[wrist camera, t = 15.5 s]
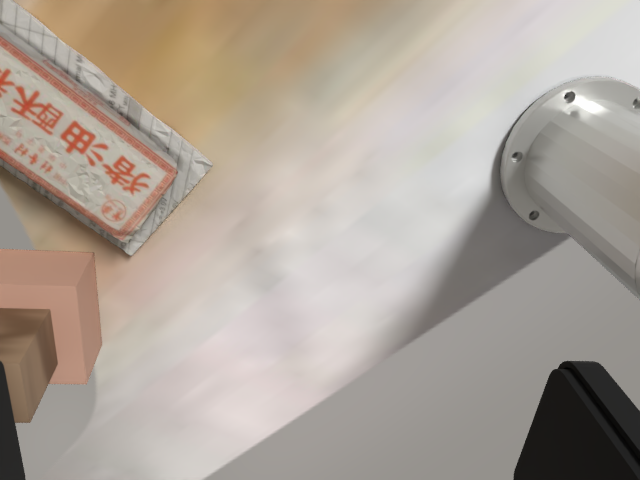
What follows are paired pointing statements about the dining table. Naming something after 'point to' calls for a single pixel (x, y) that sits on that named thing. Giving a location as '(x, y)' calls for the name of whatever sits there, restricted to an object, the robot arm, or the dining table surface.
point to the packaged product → (86, 137)
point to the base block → (58, 303)
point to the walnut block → (27, 357)
